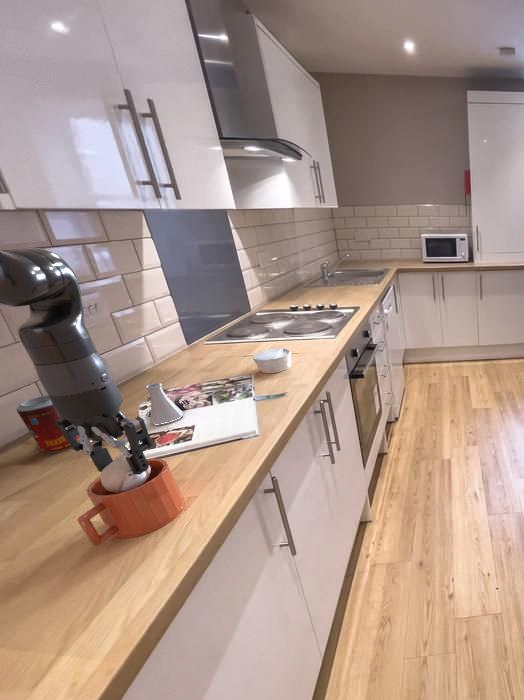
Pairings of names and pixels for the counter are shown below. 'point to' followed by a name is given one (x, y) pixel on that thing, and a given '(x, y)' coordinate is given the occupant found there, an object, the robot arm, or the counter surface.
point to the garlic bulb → (122, 476)
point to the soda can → (43, 424)
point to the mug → (134, 506)
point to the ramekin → (273, 360)
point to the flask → (161, 405)
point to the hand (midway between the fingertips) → (124, 470)
